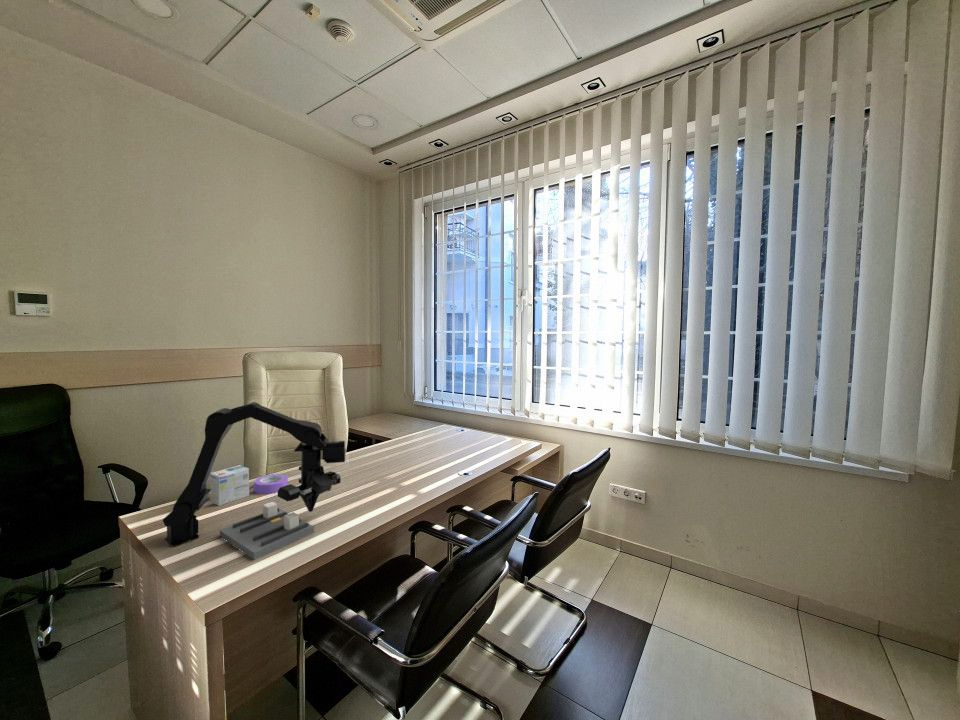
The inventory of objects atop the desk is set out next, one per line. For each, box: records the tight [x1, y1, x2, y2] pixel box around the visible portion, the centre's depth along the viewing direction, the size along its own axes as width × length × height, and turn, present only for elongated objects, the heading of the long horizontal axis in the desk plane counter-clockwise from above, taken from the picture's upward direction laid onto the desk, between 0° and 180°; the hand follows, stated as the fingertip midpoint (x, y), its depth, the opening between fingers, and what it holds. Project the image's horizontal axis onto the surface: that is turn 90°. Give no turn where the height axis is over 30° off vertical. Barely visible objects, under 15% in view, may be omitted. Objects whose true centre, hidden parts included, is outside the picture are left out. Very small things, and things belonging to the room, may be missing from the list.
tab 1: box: [262, 501, 279, 519], centre depth 123 cm, size 3×3×4 cm
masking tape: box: [253, 473, 289, 495], centre depth 150 cm, size 12×12×4 cm
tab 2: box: [284, 511, 300, 530], centre depth 117 cm, size 3×3×4 cm
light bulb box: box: [209, 464, 250, 507], centre depth 139 cm, size 11×7×11 cm, turn 149°
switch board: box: [219, 507, 315, 561], centre depth 117 cm, size 18×20×3 cm
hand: (310, 511), depth 122 cm, fingers closed
